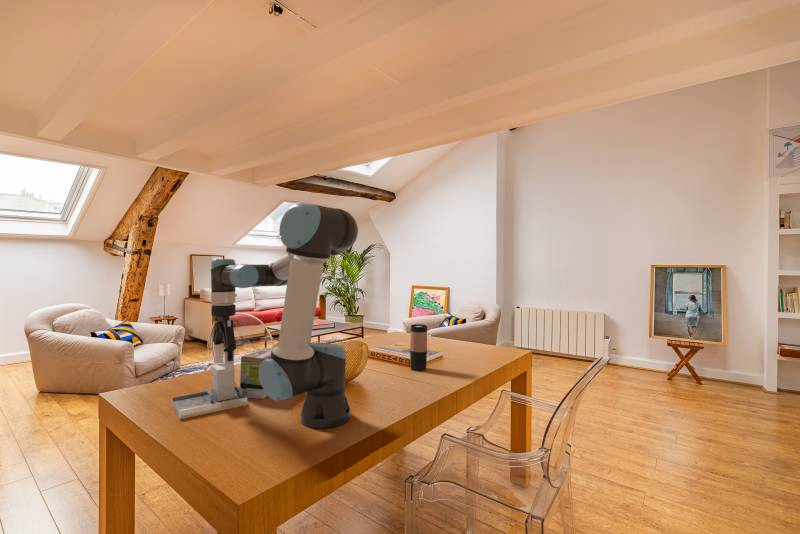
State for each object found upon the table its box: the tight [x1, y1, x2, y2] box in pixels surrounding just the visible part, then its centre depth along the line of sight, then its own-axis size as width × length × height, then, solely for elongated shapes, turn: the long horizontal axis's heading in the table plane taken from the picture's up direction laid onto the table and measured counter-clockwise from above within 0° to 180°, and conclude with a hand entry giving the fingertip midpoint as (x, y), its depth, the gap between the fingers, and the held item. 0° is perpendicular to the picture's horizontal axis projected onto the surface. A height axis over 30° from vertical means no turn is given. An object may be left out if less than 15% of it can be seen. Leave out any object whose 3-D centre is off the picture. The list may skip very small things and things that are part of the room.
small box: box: [210, 362, 235, 401], centre depth 131 cm, size 8×6×10 cm
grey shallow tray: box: [171, 381, 248, 420], centre depth 129 cm, size 14×20×5 cm
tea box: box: [239, 347, 272, 400], centre depth 143 cm, size 15×10×15 cm, turn 168°
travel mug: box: [409, 323, 428, 372], centre depth 176 cm, size 8×8×20 cm
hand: (223, 366), depth 131 cm, fingers open, 13 cm apart
